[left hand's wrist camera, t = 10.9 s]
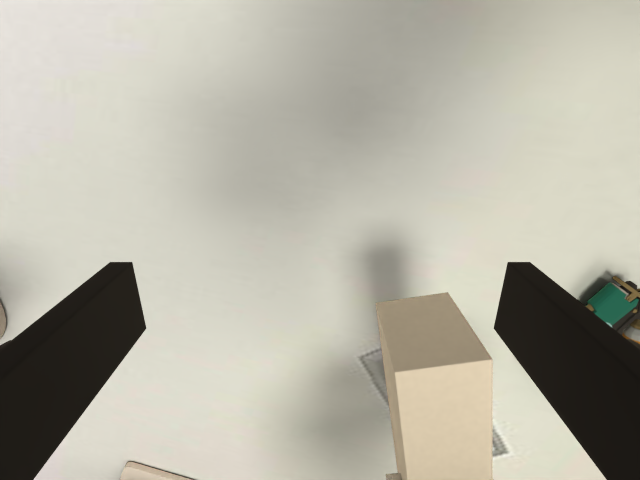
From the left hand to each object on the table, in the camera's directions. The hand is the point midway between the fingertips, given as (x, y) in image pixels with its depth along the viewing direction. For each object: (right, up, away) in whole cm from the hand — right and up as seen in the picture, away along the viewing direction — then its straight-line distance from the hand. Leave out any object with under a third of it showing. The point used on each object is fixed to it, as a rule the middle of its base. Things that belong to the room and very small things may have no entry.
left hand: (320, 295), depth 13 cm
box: (+10, -12, +21) cm, 26 cm away
